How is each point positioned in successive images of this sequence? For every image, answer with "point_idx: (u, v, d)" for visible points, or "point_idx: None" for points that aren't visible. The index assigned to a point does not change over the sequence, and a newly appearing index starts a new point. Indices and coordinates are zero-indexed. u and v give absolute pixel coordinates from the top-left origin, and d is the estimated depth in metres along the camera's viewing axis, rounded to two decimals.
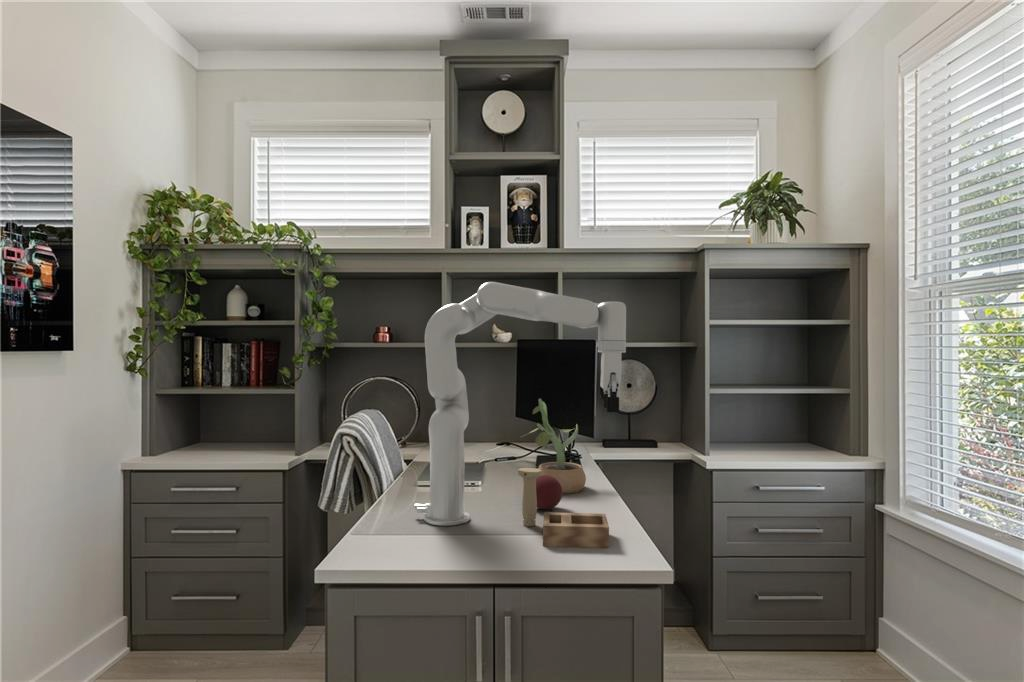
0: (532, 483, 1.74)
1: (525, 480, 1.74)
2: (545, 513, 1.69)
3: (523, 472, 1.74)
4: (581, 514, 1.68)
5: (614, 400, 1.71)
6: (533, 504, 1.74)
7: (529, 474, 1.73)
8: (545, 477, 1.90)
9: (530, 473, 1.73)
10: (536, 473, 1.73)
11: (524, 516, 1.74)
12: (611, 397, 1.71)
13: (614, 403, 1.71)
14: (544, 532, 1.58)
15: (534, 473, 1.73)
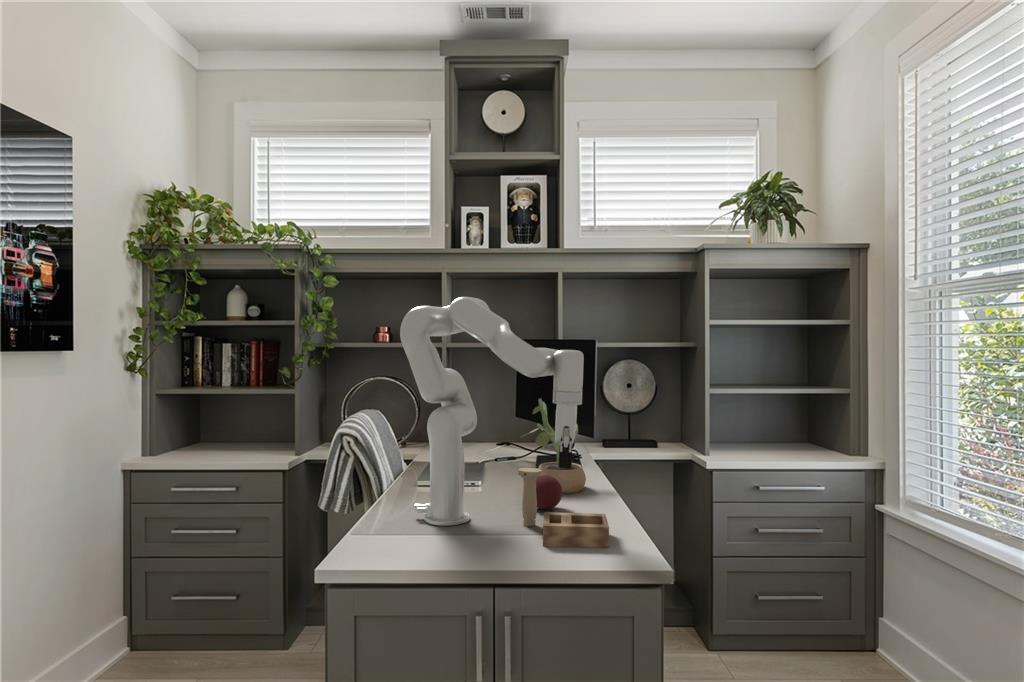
0: (532, 483, 1.74)
1: (525, 480, 1.74)
2: (545, 513, 1.69)
3: (523, 472, 1.74)
4: (581, 514, 1.68)
5: (566, 456, 1.62)
6: (533, 504, 1.74)
7: (529, 474, 1.73)
8: (545, 477, 1.90)
9: (530, 473, 1.73)
10: (536, 473, 1.73)
11: (524, 516, 1.74)
12: (563, 452, 1.61)
13: (566, 459, 1.62)
14: (544, 532, 1.58)
15: (534, 473, 1.72)
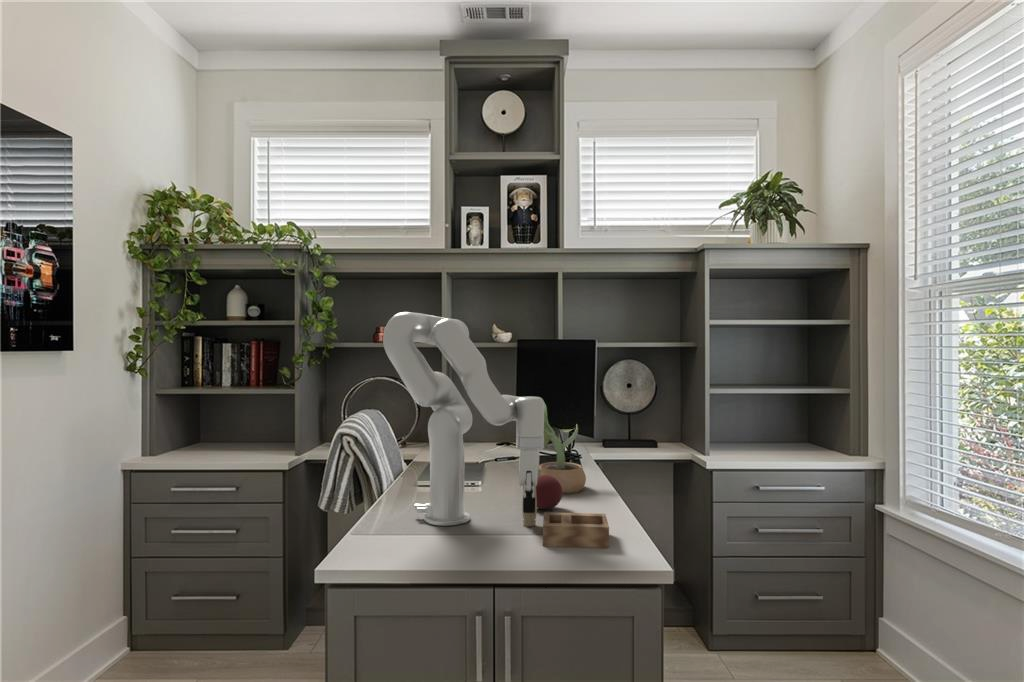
0: None
1: None
2: (545, 513, 1.69)
3: None
4: (581, 514, 1.68)
5: (530, 501, 1.72)
6: None
7: None
8: (545, 477, 1.90)
9: None
10: None
11: (524, 516, 1.74)
12: (527, 498, 1.72)
13: (530, 504, 1.72)
14: (544, 532, 1.58)
15: None
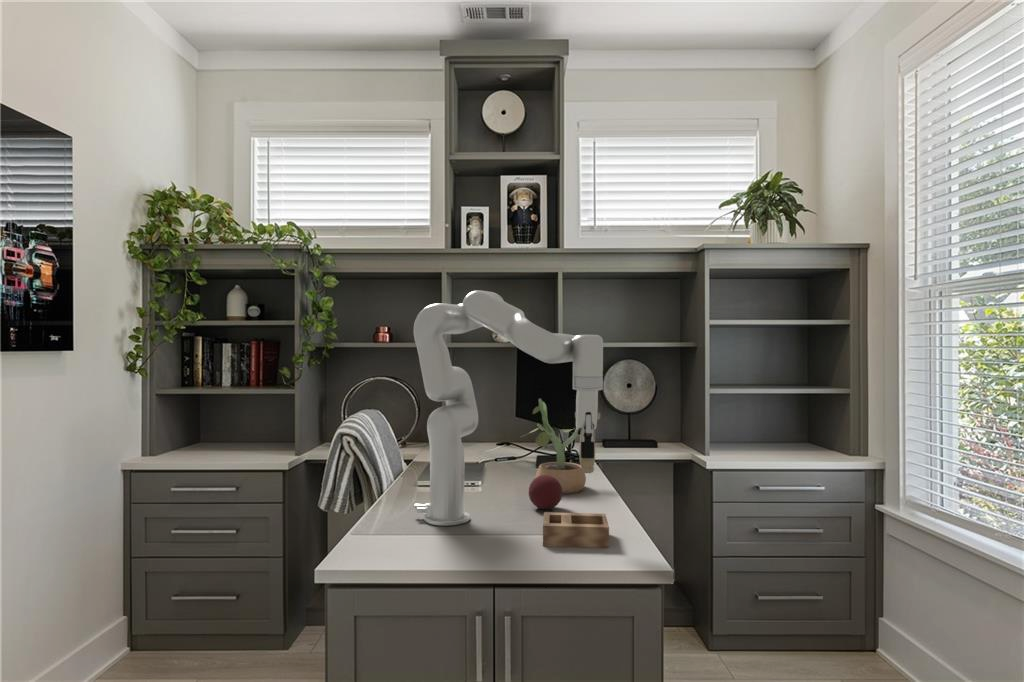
0: (591, 427, 1.62)
1: None
2: (545, 513, 1.69)
3: None
4: (581, 514, 1.68)
5: (589, 445, 1.60)
6: None
7: None
8: (545, 477, 1.90)
9: None
10: None
11: (582, 462, 1.62)
12: (585, 442, 1.60)
13: (589, 449, 1.60)
14: (544, 532, 1.58)
15: None
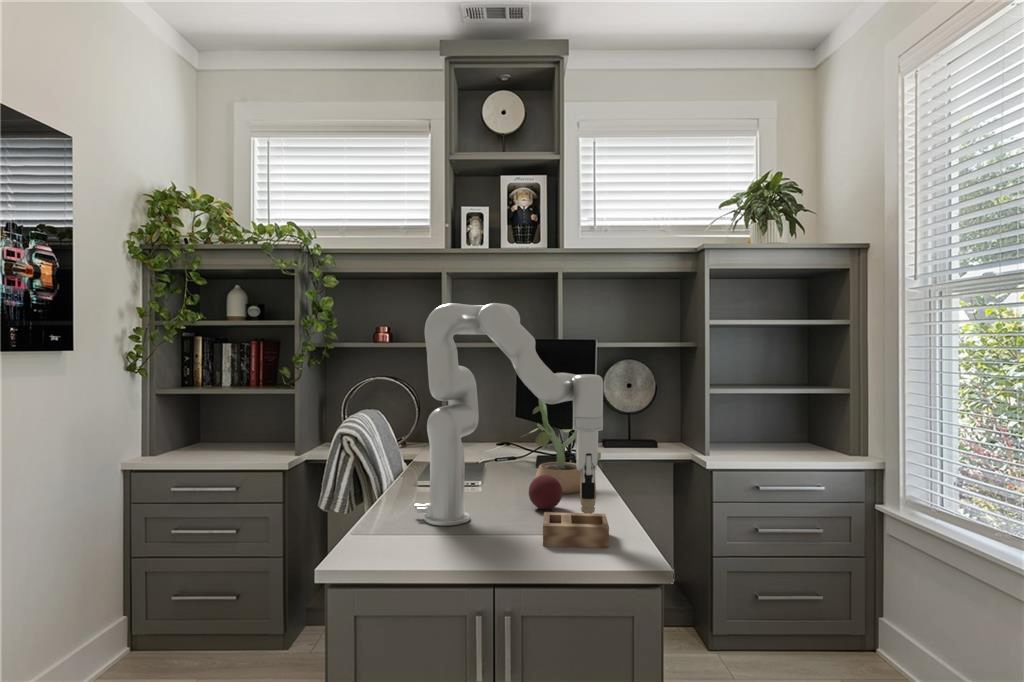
0: None
1: None
2: (545, 513, 1.69)
3: None
4: (581, 514, 1.68)
5: (589, 486, 1.60)
6: None
7: None
8: (545, 477, 1.90)
9: None
10: None
11: (583, 502, 1.62)
12: (586, 483, 1.60)
13: (589, 489, 1.60)
14: (544, 532, 1.58)
15: None
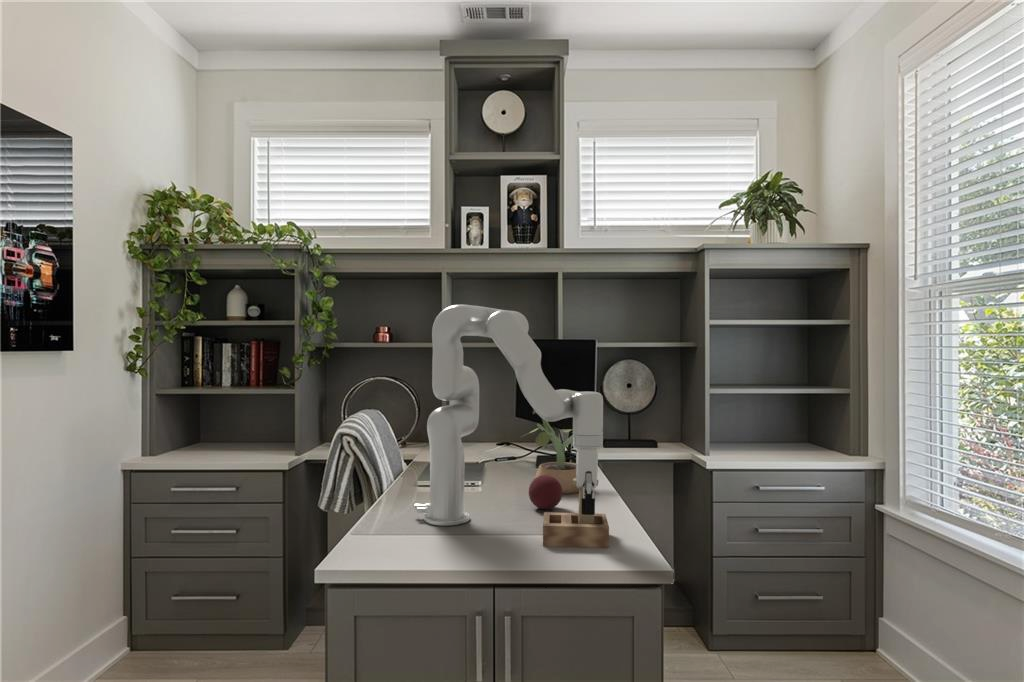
0: None
1: (581, 491, 1.62)
2: (545, 513, 1.69)
3: None
4: None
5: (589, 502, 1.58)
6: (590, 516, 1.62)
7: None
8: (545, 477, 1.90)
9: None
10: None
11: None
12: (586, 499, 1.58)
13: (589, 505, 1.58)
14: (544, 532, 1.58)
15: None
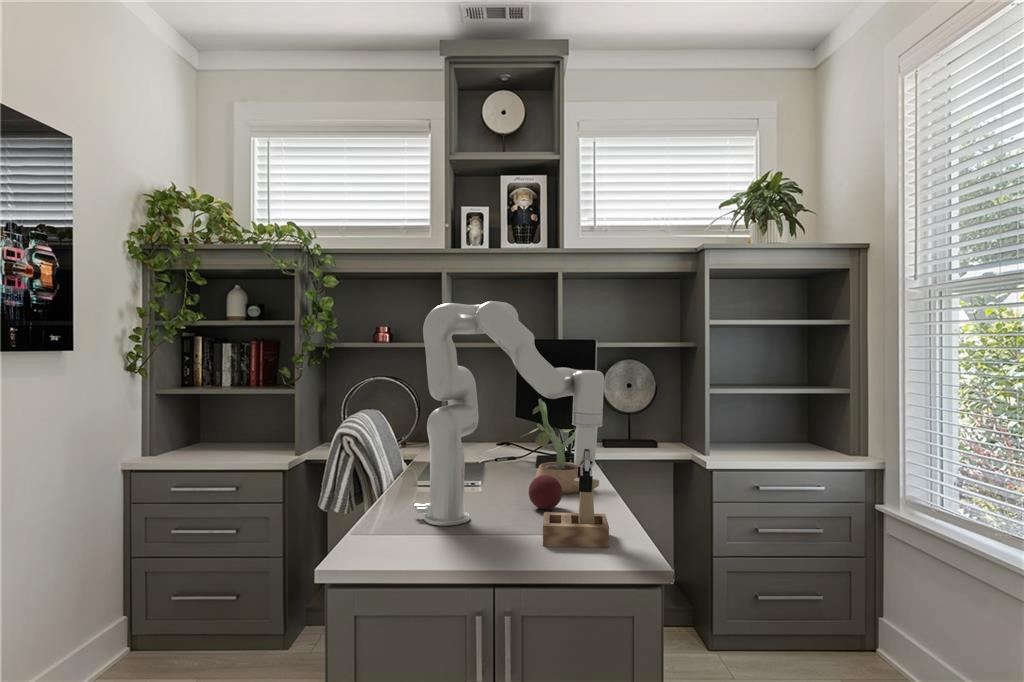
0: (590, 494, 1.62)
1: None
2: (545, 513, 1.69)
3: None
4: None
5: (587, 479, 1.58)
6: (590, 517, 1.62)
7: None
8: (545, 477, 1.90)
9: None
10: (594, 483, 1.61)
11: None
12: (584, 476, 1.58)
13: (587, 483, 1.58)
14: (544, 532, 1.58)
15: (592, 483, 1.61)
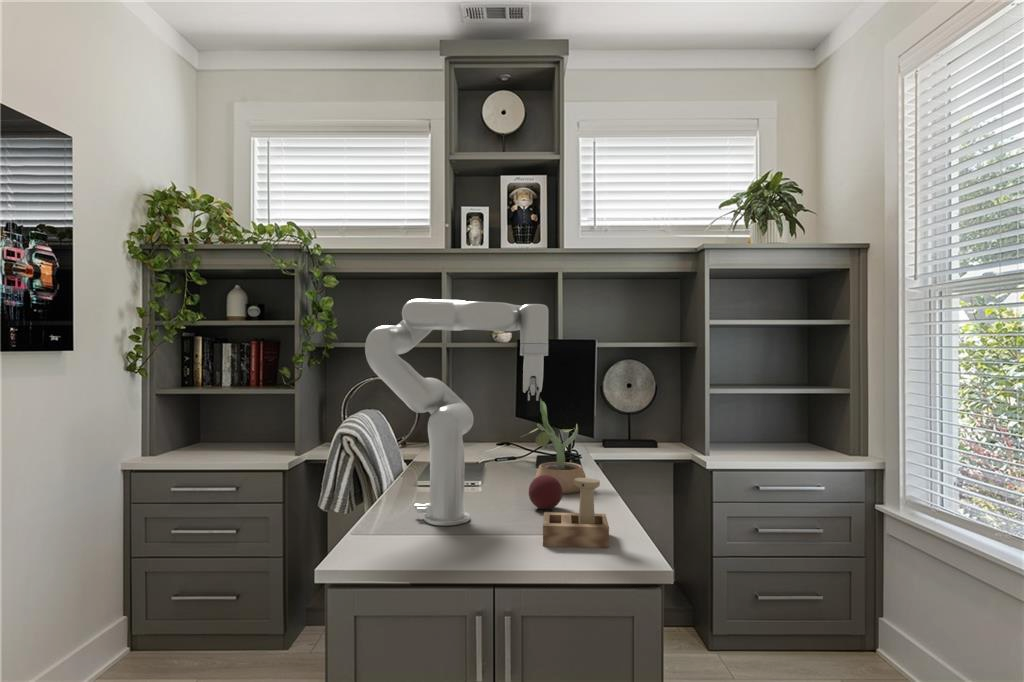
0: (590, 495, 1.62)
1: (582, 491, 1.62)
2: (545, 513, 1.69)
3: (580, 483, 1.62)
4: None
5: (534, 404, 1.68)
6: (591, 517, 1.62)
7: (587, 484, 1.61)
8: (545, 477, 1.90)
9: (588, 484, 1.61)
10: (595, 484, 1.61)
11: None
12: (531, 401, 1.68)
13: (534, 407, 1.68)
14: (544, 532, 1.58)
15: (593, 484, 1.61)
